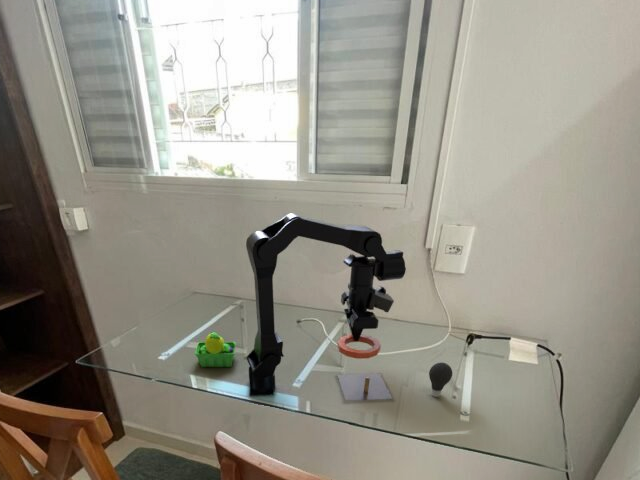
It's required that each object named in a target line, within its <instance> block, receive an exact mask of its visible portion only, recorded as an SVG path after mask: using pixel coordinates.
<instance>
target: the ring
mask: <svg viewBox="0 0 640 480" xmlns="http://www.w3.org/2000/svg"><path fill="white" fill-rule="evenodd" d="M350 343H363V344H367V345H369V346H370V348H368V349H354V348H351V347H350V346H347V344H350ZM381 346H382V344H381V343H380V341H379V339H377V338H375V337H373V336H372V335H367V334H362V333H361V335H360V338H359V340H358V341H354V339H353V336H352V334H351V333H350V334H347V335H346V334H345V335H343V336H341V337H340V339H339V340H338V341H337V350H338V352H339V353H341V354H342V355H344V356H346V357H349V358H352V359H357V360H358V359H361V360H362V359H370V358H373V357H376V356H378V354H379V353H380V351H381V348H382V347H381Z"/></svg>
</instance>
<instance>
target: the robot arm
mask: <svg viewBox="0 0 640 480" xmlns="http://www.w3.org/2000/svg"><path fill="white" fill-rule="evenodd" d="M298 237H301V238H305V239H309V240H315V241H319V242H324V243H328V244H333V245H337V246H342V247H344V248H347V249H349V250H350V251H352V252H354V253H356V254H359V255H360V256H357V255H355V254H353V253H350V254H349V255H348V256H347V257H346V258H345V259H343V264H344V265H346V266H348V267H349V268H350V277H349V283H347V288H348V291H344V292H342V294H341V296H340V303H341V305H342V306H345V305H346V306H347V308H344V309H343V311H344V315H345V318H346V320H347V324H348V327H349V330H350V334H352V336H353V339H354V341H358V340H359V338H360V335H361V334H362V333H363V331H364V330H375V329H378V328H379V319H378V317H377V315H376V314H375V313H374V312H373V311H374V310H375V309H378V310H380V311H383V312H385V313H389V312H390V310H391V309H392V307H393V304H394V302H395V300H394V299H393V297H392V296H391V295H390V294H389V293H387V289H386V288H385V287H384V286H381V285H379V286H378V287H377V288H376V289H375V288H374V279H376V280H377V281H379V282H384V281H393V280H401V279H403V278H404V276H405V274H406V272H407V271H406V270H407V267H406V261H405V259H404V252H403V251H402V250H400V249H396V250H392V251H386V250H385V248H384V246H383V245H382V244H383V239H382V236H381V233H380V232H378V231H376V230H374V229H372V228H371V227H368V226H366V225H355V224H354V225H338V224H335V223H330V222H325V221H321V220H317V219H312V218H309V217H304V216H301V215H297V214H296V213H292V212H291V213H288V214H286V215H284V216H283V217H282V218H281V219H279V220H277V221H274V222H273V223H271V224H269V225H267V226H266V227H265V228H262V229H261V230H257V231H253V232H252V233H251V234H249V236H248V237H247V238H246V241H245V242H246V243H245V247H246V251H247V255H248V259H249V264H250V267H251V269H252V273H253V276H254V278H253V279H254V294H255V308H256V309H255V310H256V323H257V325H256V326H257V331H256V334H255V337H254V344H253V349H252V350H251V351H250V352H249V353H248V354H247V356H245V358H246V361H247V364H248V382H249V387H248V388H249V389H248V391H249V396H250V397H254V396H257V397H258V396H274V394H275V390H276V373H275V371H276V369H277V366H278V365H280V364H281V362H282V358H284V357H285V355H284V353H283V347H284V341H283V340H282V339H281V338H282V337H280V335H279V333H278V331H277V332H276V331H275V308H274V307H275V306H274V285H273V284H274V280H273V279H274V274H275V272H276V269H277V263H278V256H279V254H281V253H282V252H283V251H285V250H286V249H287V248H288V247H289V246H290V245H291V244H292V242H293V241H294V240H296V239H297V238H298Z"/></svg>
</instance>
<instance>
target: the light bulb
mask: <svg viewBox="0 0 640 480" xmlns="http://www.w3.org/2000/svg"><path fill="white" fill-rule="evenodd" d="M428 377H429V381H430V383H431V384H430V385H431V390H430V395H431V396H432V397H434V398H439V397H440V396H441V394H442V391H443V389H444V387H445V386H446V385H447V384H448V383H449V382H450V381H451V380H452V378H453V369H452V367H451V366H450V365H449V364H448V363H446V362H437V363H435V364H433V365H432V366H431V368H429V372H428Z"/></svg>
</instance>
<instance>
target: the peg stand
mask: <svg viewBox="0 0 640 480" xmlns="http://www.w3.org/2000/svg"><path fill="white" fill-rule="evenodd" d="M337 377H338V381H339V384H340V387H341V391H342V393H343V396H344V400H345V401H346V402H349V401H350V402H353V401H377V400H378V401H379V400H393V397H392V395H391V393H390V391H389V389H388V386H387V384H386V382H385V381H384V378H383V377H382V374H381V373H357V374H356V373H355V374H337Z"/></svg>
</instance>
